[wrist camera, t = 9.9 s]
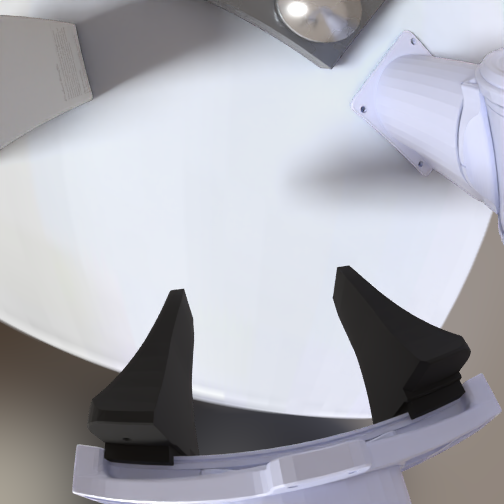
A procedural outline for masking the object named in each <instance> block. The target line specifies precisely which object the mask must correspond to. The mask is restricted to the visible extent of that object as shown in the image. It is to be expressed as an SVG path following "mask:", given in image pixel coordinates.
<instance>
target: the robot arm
mask: <svg viewBox="0 0 504 504" xmlns="http://www.w3.org/2000/svg"><path fill="white" fill-rule="evenodd" d="M411 39H412V40H413V44H412V43H411ZM350 106H351V108H352V109H353V110H354V111H355V112H356V113H357V114H358V115H360V116H361V117H362V118H363V119H364V120H365V121H367V122H368V123H369V124H370V125H371V126H372V127H373V128H375V129H376V130H377V131H378V132H379V133H380V134H381V135H382V136H383V137H385V138H386V139H387V140H388V141H389V142H390V143H391V144H392V145H393V146H394V147H395V148H396V149H397V150H398V151H399V152H400V153H401V154H402V155H403V156H404V157H405V158H406V159H407V160H408V161H409V162H410V163H411V164H412V165H413V166H414V167H415V168H416V169H417V170H418V171H419V172H420V173H421V174H422V175H424V176H428V175H429V174H430V173H431V171H432V170H433V169H434V170H436V171H437V172H439V173H440V174H442V175H443V176H445V177H446V178H447V179H449V180H450V181H452V182H453V183H454V184H456V185H457V186H459V187H460V188H461V189H463V190H464V191H465V192H467V193H468V194H469V195H471V196H472V197H473V198H475V199H477V200H478V201H481V202H484V204H485V205H486V206H488V207H489V208H490V209H491V210H493V211H494V212H495V213H496V214H498V228H499V233H500V237H501V240H502V242H503V244H504V48H501V49H498V50H495V51H493V52H491V53H489V54H488V55H486V56H485V58H484V59H483V61H482V62H481V63H480V64H474V63H469V62H464V61H458V60H452V59H446V58H439V57H433V56H432V55H431V53H430V52H429V51H428V50H427V49H426V48H425V47H424V45H423V44H422V43H421V42H420V41H419V40H418V39H417V38H416V37H415V36H414V35H413V33H411V32H410V31H403V32H402V33H401V34H400V36H399V37H398V38H397V40H396V41H395V42H394V44H393V45H392V46H391V48H390V49H389V50H388V52H387V53H386V54H385V56H384V57H383V58H382V60H381V61H380V62H379V64H378V65H377V66H376V68H375V69H374V70H373V72H372V73H371V74H370V76H369V77H368V78H367V80H366V81H365V83H364V84H363V85H362V87H361V88H360V89H359V91H358V92H357V93H356V95H355V96H354V97H353V99H352V100H351V102H350ZM362 106H364V107H365V110H364V111H363V112H361V107H362ZM419 162H420V165H418V164H419ZM333 300H334V303H335V307H336V310H337V313H338V316H339V318H340V321H341V323H342V325H343V327H344V329H345V332H346V334H347V336H348V338H349V340H350V342H351V345H352V347H353V349H354V351H355V354H356V356H357V359H358V362H359V365H360V369H361V372H362V375H363V379H364V383H365V387H366V390H367V395H368V399H369V404H370V409H371V414H372V420H373V425H370V426H367V427H364V428H360V429H357V430H354V431H350V432H346V433H343V434H339V435H335V436H331V437H327V438H323V439H319V440H315V441H310V442H305V443H300V444H296V445H290V446H284V447H279V448H272V449H265V450H258V451H250V452H242V453H232V454H221V455H204V456H199V450H198V443H197V436H196V428H195V420H194V411H193V397H192V364H193V348H194V326H193V317H192V314H191V310H190V307H189V304H188V301H187V297H186V294H185V291H184V289H178V290H171V291H170V292H169V295H168V297H167V299H166V302H165V304H164V306H163V308H162V310H161V312H160V314H159V316H158V318H157V320H156V322H155V324H154V326H153V327H152V329H151V331H150V332H149V334H148V336H147V338H146V339H145V341H144V342H143V344H142V346H141V347H140V348H139V350H138V351H137V353H136V354H135V356H134V357H133V358H132V359H131V361H130V362H129V363H128V365H127V366H126V367H125V368H124V369H123V371H122V372H121V373H120V374H119V375H118V376H117V377H116V378H115V379H114V380H113V381H112V382H111V383H110V384H109V385H108V386H107V387H106V388H105V389H104V390H103V391H101V392H100V393H99V394H98V395H97V396H96V397H94V398H93V399H92V402H91V406H90V410H89V416H88V423H87V427H88V429H89V430H90V432H91V433H93V434H94V435H95V436H97V437H98V438H99V439H101V440H102V441H103V442H105V449H103V448H100V447H94V446H87V445H79V444H78V445H77V448H76V456H75V466H74V477H73V491H72V492H73V493H75V494H77V495H80V496H83V497H85V498H88V499H91V500H94V501H98V502H100V503H105V504H411V500H410V497H409V494H408V491H407V488H406V484H405V481H404V478H403V475H402V471H405V470H407V469H409V468H411V467H413V466H416V465H418V464H420V463H422V462H424V461H426V460H428V459H430V458H432V457H434V456H436V455H438V454H440V453H441V452H443V451H445V450H447V449H448V448H451V447H452V446H454V445H456V444H458V443H459V442H461V441H463V440H464V439H466V438H468V437H469V436H471V435H473V434H474V433H476V432H478V431H479V430H480V429H481V428H483V427H484V426H485V425H486V424H488V423H489V422H490V421H491V420H493V419H494V418H495V417H496V416H497V415H498V414H500V413H501V411H502V410H501V408H500V406H499V404H498V402H497V400H496V398H495V396H494V394H493V392H492V390H491V388H490V387H489V385H488V383H487V381H486V379H485V377H484V376H483V374H482V373H481V374H478V375H477V376H475V377H473V378H471V379H469V380H467V381H466V382H464V383H463V384H461V382H460V379H461V374H460V373H459V371H460V369H461V368H462V367H463V365H464V364H465V363H466V361H467V360H468V358H469V356H470V353H471V351H470V348H469V347H468V345H467V343H466V342H465V340H464V339H463V337H462V336H460V335H456V334H453V333H451V332H448V331H445V330H442V329H440V328H438V327H435V326H433V325H431V324H429V323H427V322H425V321H423V320H421V319H419V318H417V317H416V316H414V315H412V314H410V313H409V312H407V311H406V310H404V309H402V308H401V307H399V306H398V305H396V304H395V303H394V302H392V301H391V300H390V299H388V298H387V297H386V296H384V295H383V294H382V293H381V292H379V291H378V290H377V289H376V288H374V287H373V286H372V285H371V284H370V283H369V282H367V281H366V280H365V279H364V278H363V277H362V276H360V275H359V274H358V273H357V272H356V271H355V270H354V269H352V268H351V267H350V266H343V267H337V273H336V280H335V287H334V294H333Z"/></svg>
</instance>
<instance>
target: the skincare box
mask: <svg viewBox="0 0 504 504" xmlns="http://www.w3.org/2000/svg"><path fill="white" fill-rule="evenodd" d="M92 99H93V95H92V92H91V88H90V85H89V81H88V77H87V73H86V69H85V65H84V61H83V57H82V53H81V49H80V44H79V40H78V35H77V30H76V26H75V24H73V23H67V22H61V21H55V20H49V19H41V18H32V17H22V16H10V15H0V149H2V148H3V147H5V146H6V145H8V144H9V143H11V142H13V141H14V140H16V139H17V138H19V137H21V136H22V135H24V134H26V133H27V132H29V131H31V130H33V129H34V128H36V127H38V126H40V125H42V124H44V123H45V122H47V121H49V120H51V119H53V118H55V117H57V116H59V115H61V114H63V113H65V112H67V111H69V110H71V109H73V108H75V107H77V106H79V105H82V104H84V103H86V102H89V101H91V100H92Z"/></svg>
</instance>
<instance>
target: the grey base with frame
mask: <svg viewBox="0 0 504 504" xmlns="http://www.w3.org/2000/svg"><path fill="white" fill-rule="evenodd" d="M206 1H208V2H210V3H213V4H215V5H217V6H219V7H221V8H223V9H225V10H227V11H229V12H231V13H233V14H235V15H237V16H239V17H240V18H242V19H244V20H246V21H248V22H250V23H251V24H253V25H255V26H257V27H259V28H260V29H262V30H264V31H265V32H267V33H269V34H270V35H272V36H274V37H275V38H277V39H278V40H280V41H282V42H283V43H285V44H286V45H288V46H289V47H291V48H292V49H294V50H295V51H297V52H298V53H300V54H301V55H303V56H304V57H306V58H307V59H309V60H310V61H311V62H313V63H314V64H316V65H317V66H318V67H320V68H326V69H332V68H333V67H334V65H335V64H336V63H337V61H338V60H339V59H340V57H341V56H342V55H343V53H344V52H345V51H346V49H347V48H348V47H349V45H350V44H351V43H352V42H353V40H354V39H355V38H356V36H357V35H358V34H359V32H360V31H361V30H362V29H363V27H364V26H365V25H366V24H367V22H368V21H369V20H370V18H371V17H372V16H373V15H374V13H375V12H376V11H377V10H378V8H379V7H380V6H381V5H382V3H383V2H384V1H385V0H206Z"/></svg>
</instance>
